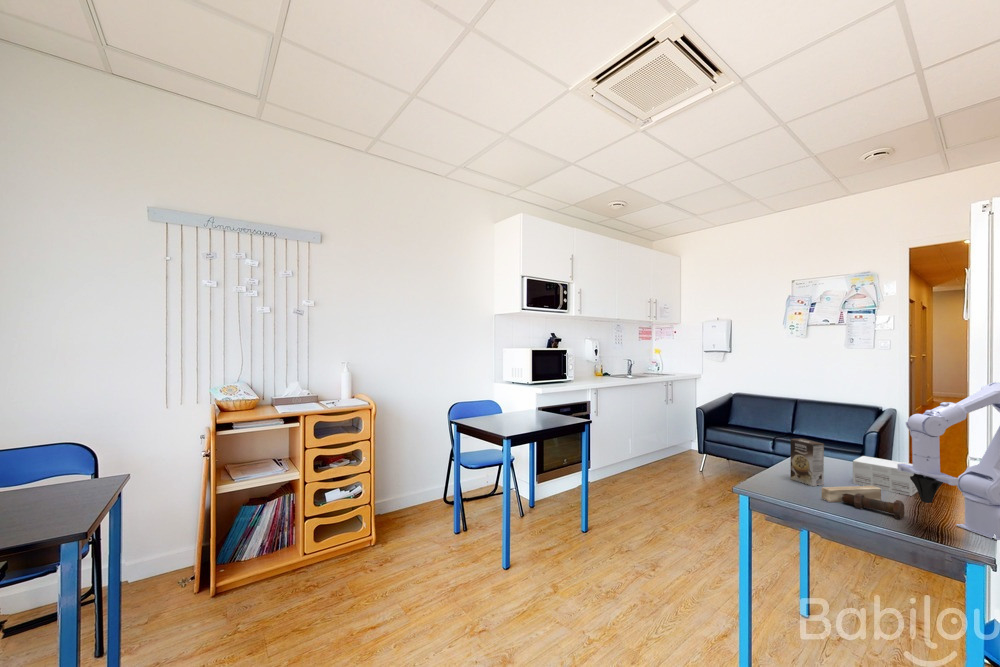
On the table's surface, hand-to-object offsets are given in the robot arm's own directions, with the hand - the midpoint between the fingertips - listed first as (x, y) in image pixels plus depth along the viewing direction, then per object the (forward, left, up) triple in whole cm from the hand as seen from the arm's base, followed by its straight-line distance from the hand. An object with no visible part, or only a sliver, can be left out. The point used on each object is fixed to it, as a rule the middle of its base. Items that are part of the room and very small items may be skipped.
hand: (926, 502), depth 124 cm
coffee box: (+42, 0, -8) cm, 43 cm away
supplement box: (+35, -27, -8) cm, 44 cm away
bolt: (+15, +2, -8) cm, 17 cm away
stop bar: (+24, 0, -8) cm, 25 cm away
